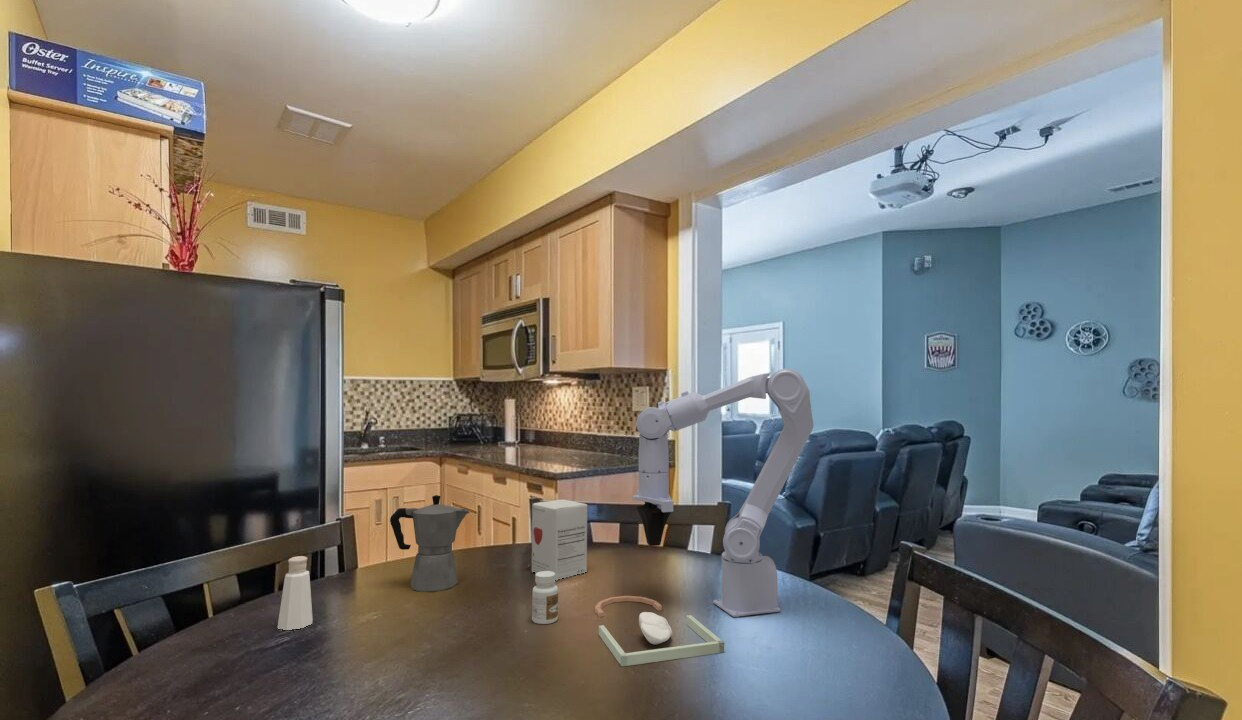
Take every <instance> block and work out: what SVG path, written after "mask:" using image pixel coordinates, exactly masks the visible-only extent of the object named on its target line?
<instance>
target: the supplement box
mask: <svg viewBox="0 0 1242 720" xmlns="http://www.w3.org/2000/svg"><path fill="white" fill-rule="evenodd" d="M531 506H532V513H531V514H532V521H531V522H532V523H531V524H532V525H531V526H532V527H531V530H532V531H531V573H533V572H535V573H534V574H536V573H538V572H541V571H552V572H554V573H555V580H556V581H559V580H558V579H560V580H563V579H562V578H564V579H567V578H566V577H568V578H570V577H569V576H572V577H574V576H573V575H576V576H578V575H577V574H580V575H582V574H581V573H584V574H586V573H585V572H587V569H588V568H587V566H588V565H587V564H588V563H587V561H588V560H587V559H588V558H587V557H588V504H586V503H584V502H583V503H582V502H578V501H574V500H568V499H562V498H561V499H555V500H549V501H540V502H533V503H532V504H531ZM587 573H588V572H587Z"/></svg>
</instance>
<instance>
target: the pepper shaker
mask: <svg viewBox="0 0 1242 720" xmlns="http://www.w3.org/2000/svg"><path fill="white" fill-rule="evenodd" d="M307 562H308V557H307V556H303V555H300V556H299V555H298V556H292V557H291V558H289V559H288V572H287V573H285V576H284V581H283V587H282V593H281V594H282V595H281V601H280V602H281V603H280V608H279V616H278V621H277V626H276V627H277V628H278V629H283V630H292V629H300V628H304V627H306V626H308V625H311V624H312V625H313V607H312V592H311V578H310V577H311V576H310V571H309V570H307V565H308V563H307ZM312 625H311V626H312ZM308 627H309V626H308ZM306 628H307V627H306ZM278 629H277V630H278ZM304 629H305V628H304Z"/></svg>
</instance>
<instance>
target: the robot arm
mask: <svg viewBox="0 0 1242 720" xmlns="http://www.w3.org/2000/svg"><path fill="white" fill-rule="evenodd" d="M771 373H772V371H771V372H765V373H762V374H761V373H760V374H757V375H752V376H749V377H746V378H744V379H741V380H739V381H737V382H734V383H731V384H729V385H726V386H724V387H722V388H720V389H717V390H715V391H712V392H709V393H707V394H705V395H702V394H700V393H697V392H696V391H692V392H689V391H683V392H681V393H680V395H681V396H679V397H677V398H674V399H671V400H668V401H666V402H664V401H659V402H658V403H657V405H658V407H655V406H648V407H647V408H646V409H644V410H642V411H641V412H640V413H639V414H638V416H637V417H636V424H635V425H636V428H637V431H638V433H639V434H638V435H639V438H638V444H639V445H638V489H636V490H635V491H636V492H635V494H634V495H632V500H634V501H641V502H644V504H643V505H637V506H636V510H637V512H638V515H639V517H640V519H641V523H642V524H643V530H644V535H645V538H646V544H647V545H648V546H650V547H656V546H661V544H662V543H661V542H662V538H663V535H664V530H665V527H666V523H667V520H668V519H669V517H670V515H671V514H672V512H674V500H672V498H671V495H670V478H669V477H670V473H669V472H670V469H669V467H670V465H669V463H670V462H669V461H670V460H669V457H670V455H669V453H670V452H669V451H670V448H669V446H668V445H669V444H668V443H669V442H668V441H669V439H668V438H669V437H668V433H669V432H670V431H672V432H676V431H680V430H682V429H685V428H689V427H691V426H693V425H696V424H699V423H702V422H704V421H706V419H707V417H708V414H709V413H710V412H711V411H713V410H717V409H719V408H723V407H724V406H728V405H731V404H734V403H736V402H737V403H738V402H740V401H743V400H746V399H749V398H753V399H761V400H762V399H763V400H766V399H767V396H768V397H769V398H770V400H771V401H772V402H773V404H774V405H775V406H776V408H778V411H779V415H780V417H781V419H782V422H783V428H782V429H781V431H780V434H779V435H778V438H777V440H776V442H775V443H774V445H773V447H772V449H771V451H770V452H769V455H768V457H767V459H766V460H765V462H764V465H762V468H761V471H760V472H759V473H758V477H757V478H756V480H755V482H754V484H753V486H752V488H751V489H750V491H749V493H748V495H747V497H746V499H745V501H744V502H743V504H742V506H741V507H740V509H739V510H738V513H736V514H735V516H733V517H732V518H730V519H729V520H728V521H727V523H726V525H725V527H724V534H723V538H722V545H723V549H724V551H723V552H722V553H721V594H722V595H721V599H713V601H712V603H713V604H714V605H716V606H717V607H718V608H720V609H722V610H723V611H724V612H726V613H727V614H728V615H730V616H732V617H733V618H738V617H745V616H754V615H762V614H771V613H779V612H781V608H780V607H779V603H778V602H779V598H778V597H779V595H778V594H779V592H778V590H779V589H778V588H779V587H778V586H779V585H778V584H779V583H778V571H777V566H776V563H775V562H774V560H773V559H772V558H771V557H770V556H768V555H763V554H762V553H761V552H760V546H761V545H760V544H761V543H760V542H761V541H760V540H761V539H760V537H761V534H762V532H763V530H764V529H765V526H766V523H767V519H768V517H769V515H770V512H772V509H773V507H774V505H775V503H776V501H777V499H778V497H779V495H780V493H781V492H782V490H783V488H784V486H785V485H786V484H785V483H786V482H787V480H788V478H789V476H790V474H791V472H792V470H793V469H794V466H795V464H796V462H797V460H798V459H799V456H800V455H801V454H802V451H803V450H804V447H805V445H806V444H807V441H808V440H809V437H810V435H811V434H812V432H813V429H814V420H813V411H812V410H813V409H812V404H811V391H810V388H809V386H808V385H807V383H806V381H805V380H804V378H803V376H802V375H801V374H800V373H799V372H798V371H796V370H794V369H792V368H781V369H778V370H777V371H774V373H772V374H771Z"/></svg>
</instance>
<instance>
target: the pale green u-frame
mask: <svg viewBox="0 0 1242 720" xmlns="http://www.w3.org/2000/svg"><path fill="white" fill-rule="evenodd" d="M685 619H686V620H685V621H686V622H685V623H686V625H687V626H688V627H689V629H692V631H694V632H695V633H696V634H697V636H699V637H700V638H702V639H703V640H704V641H705V642H700V643H692V644H684V645H677V646H671V647H670V646H669V647H663V648H655V649H648V650H647V649H646V650H641V651H633V652H625V651H624V650H623V648H622V647H621V646H620V644H619V643H618V642H617V641H616V639H615V638H614V637H613V635H612V634H611V632H610V631H609V630H608V629H607V627H606V626H605V625H604V624H603V625H598V636H599V637H600V638H601V640H602V642H603V643H604V644H605V645H606V647H607V648H608V650H609V651H610V652H611V654H612V656H613V657H614V658H615V659H616V661H617V662H618V663H619V664H618V665H620V667H627V666H628V667H629V666H635V665H642V664H644V665H645V664H651V663H658V662H665V661H671V660H677V659H679V660H680V659H686V658H687V659H688V658H692V657H693V658H694V657H699V656H706V655H708V656H709V655H714V654H720V653H721V654H722V653H725V642H724V641H723V640H722V639H721V638H719V636H717V634H716V635H715V634H714V632H712V631H711V630H709V628H707V627H706V626H705V625H703V624H702V623H701V622H700V621H699V620H697V619H696V618H695V617H694V616H693V615H691V614H689V615H686V618H685Z"/></svg>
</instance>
